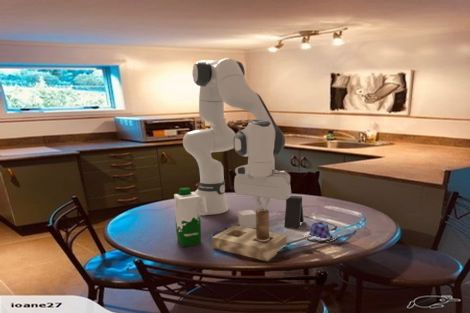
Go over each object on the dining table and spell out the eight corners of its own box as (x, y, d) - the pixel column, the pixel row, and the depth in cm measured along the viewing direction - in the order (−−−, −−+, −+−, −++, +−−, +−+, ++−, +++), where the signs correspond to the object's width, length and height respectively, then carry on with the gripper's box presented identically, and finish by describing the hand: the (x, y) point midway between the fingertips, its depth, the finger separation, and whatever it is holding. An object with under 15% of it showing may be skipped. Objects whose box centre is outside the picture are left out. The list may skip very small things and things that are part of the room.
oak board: (212, 247, 126) (212, 237, 125) (234, 235, 138) (234, 225, 137) (267, 261, 114) (267, 249, 113) (286, 246, 125) (286, 235, 125)
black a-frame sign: (298, 228, 142) (298, 199, 140) (284, 227, 144) (283, 198, 143) (303, 221, 150) (303, 194, 148) (290, 220, 153) (289, 193, 151)
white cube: (238, 224, 149) (238, 211, 148) (252, 223, 151) (251, 209, 150) (242, 229, 143) (242, 215, 143) (256, 227, 145) (256, 213, 144)
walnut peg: (254, 251, 122) (252, 211, 120) (260, 246, 126) (259, 208, 124) (265, 254, 119) (264, 213, 117) (272, 249, 123) (271, 210, 121)
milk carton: (196, 236, 138) (194, 185, 135) (204, 244, 130) (201, 190, 127) (174, 240, 135) (171, 188, 132) (180, 248, 126) (177, 194, 123)
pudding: (342, 242, 128) (342, 228, 127) (310, 245, 126) (310, 231, 126) (328, 230, 140) (328, 217, 139) (299, 233, 138) (299, 220, 137)
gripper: (294, 169, 115) (294, 210, 117) (241, 165, 127) (242, 203, 129) (285, 173, 110) (286, 216, 112) (231, 168, 121) (232, 207, 123)
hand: (262, 209), depth 120 cm, fingers closed
